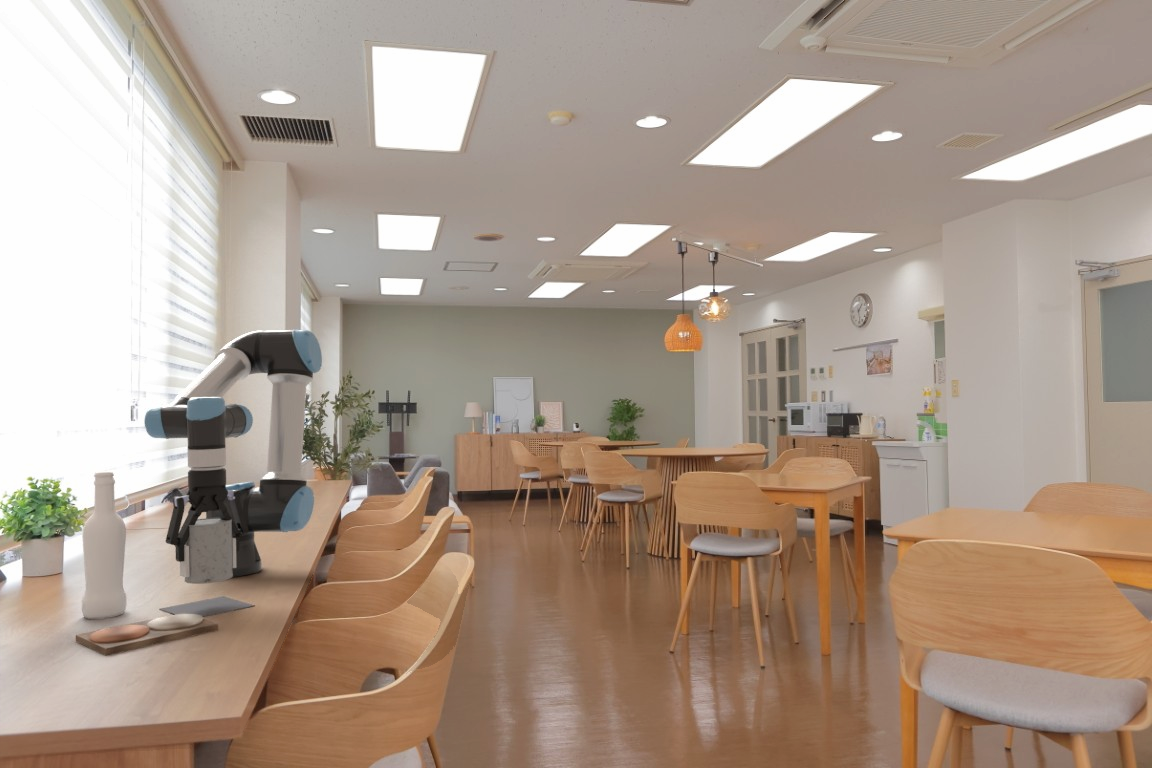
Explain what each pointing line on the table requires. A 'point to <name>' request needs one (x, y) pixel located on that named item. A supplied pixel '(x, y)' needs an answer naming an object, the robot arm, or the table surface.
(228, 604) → the mat
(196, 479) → the robot arm
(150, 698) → the table surface
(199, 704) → the table surface
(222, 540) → the grey marbled cylinder
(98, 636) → the board
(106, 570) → the bottle
